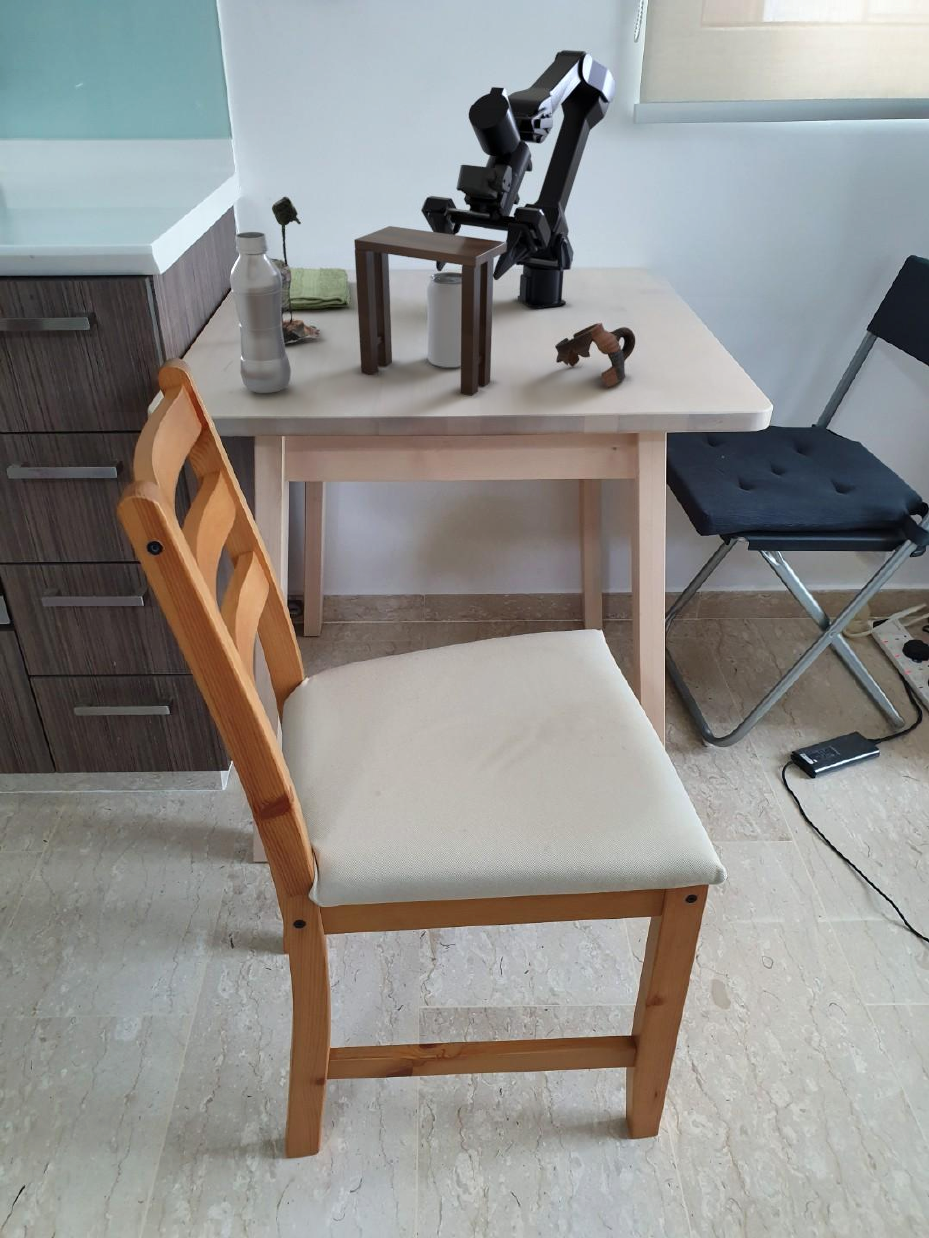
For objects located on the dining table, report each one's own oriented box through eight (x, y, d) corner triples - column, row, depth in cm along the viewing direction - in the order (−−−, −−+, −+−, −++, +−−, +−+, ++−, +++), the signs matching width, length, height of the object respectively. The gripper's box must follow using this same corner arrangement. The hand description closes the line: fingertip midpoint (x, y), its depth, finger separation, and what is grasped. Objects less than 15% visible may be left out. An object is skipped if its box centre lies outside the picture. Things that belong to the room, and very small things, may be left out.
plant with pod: (250, 330, 146) (233, 194, 135) (322, 329, 147) (311, 193, 135) (244, 348, 140) (225, 206, 128) (319, 346, 140) (308, 205, 129)
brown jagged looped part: (595, 398, 126) (571, 341, 124) (560, 405, 135) (536, 352, 132) (659, 359, 130) (637, 304, 127) (621, 369, 138) (599, 317, 136)
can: (467, 371, 133) (468, 285, 126) (423, 367, 134) (422, 282, 127) (475, 355, 138) (477, 273, 131) (433, 352, 139) (432, 270, 132)
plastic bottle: (245, 381, 128) (225, 229, 117) (294, 380, 129) (279, 229, 117) (240, 399, 123) (219, 241, 112) (291, 398, 124) (275, 241, 112)
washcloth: (271, 312, 154) (269, 293, 152) (279, 282, 168) (277, 264, 166) (350, 311, 155) (349, 291, 153) (351, 281, 169) (350, 263, 167)
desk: (394, 353, 138) (389, 226, 128) (502, 374, 132) (506, 242, 121) (360, 372, 132) (353, 240, 121) (472, 396, 125) (475, 257, 115)
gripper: (426, 134, 131) (388, 232, 129) (548, 145, 124) (509, 249, 122) (452, 185, 141) (417, 277, 139) (566, 198, 134) (530, 295, 132)
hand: (466, 274), depth 133 cm, fingers open, 9 cm apart
